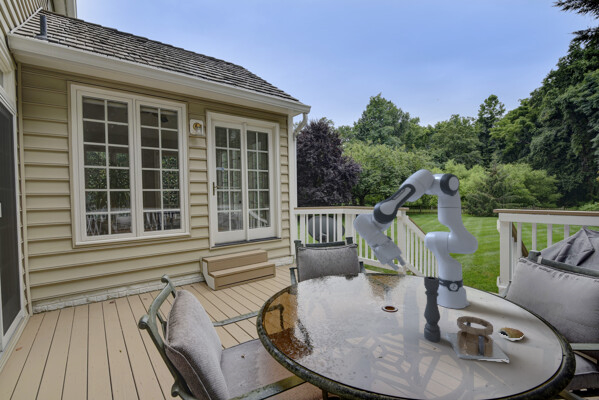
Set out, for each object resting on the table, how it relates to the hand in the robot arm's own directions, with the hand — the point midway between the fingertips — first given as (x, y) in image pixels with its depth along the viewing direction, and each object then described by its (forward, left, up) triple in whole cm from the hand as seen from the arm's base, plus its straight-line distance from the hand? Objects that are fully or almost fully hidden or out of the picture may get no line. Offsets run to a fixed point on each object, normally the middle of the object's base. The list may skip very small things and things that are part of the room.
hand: (401, 267), depth 120 cm
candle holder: (+5, +11, -28) cm, 31 cm away
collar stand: (+10, +25, -28) cm, 39 cm away
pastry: (-2, +43, -28) cm, 51 cm away
